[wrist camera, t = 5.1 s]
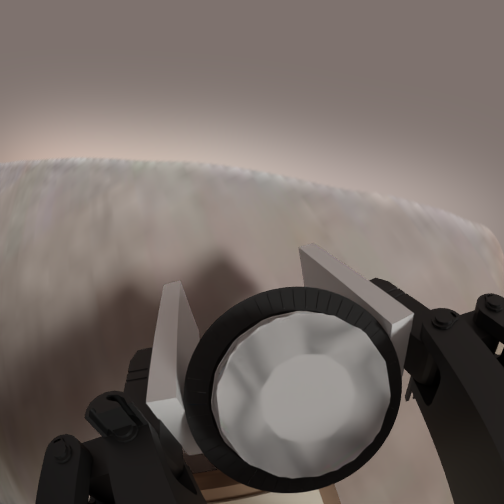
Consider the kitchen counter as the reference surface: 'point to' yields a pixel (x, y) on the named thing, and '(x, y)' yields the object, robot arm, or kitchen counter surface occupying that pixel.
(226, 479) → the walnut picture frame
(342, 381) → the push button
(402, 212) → the kitchen counter surface
